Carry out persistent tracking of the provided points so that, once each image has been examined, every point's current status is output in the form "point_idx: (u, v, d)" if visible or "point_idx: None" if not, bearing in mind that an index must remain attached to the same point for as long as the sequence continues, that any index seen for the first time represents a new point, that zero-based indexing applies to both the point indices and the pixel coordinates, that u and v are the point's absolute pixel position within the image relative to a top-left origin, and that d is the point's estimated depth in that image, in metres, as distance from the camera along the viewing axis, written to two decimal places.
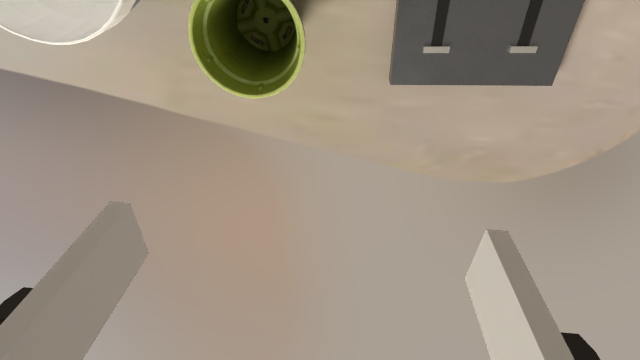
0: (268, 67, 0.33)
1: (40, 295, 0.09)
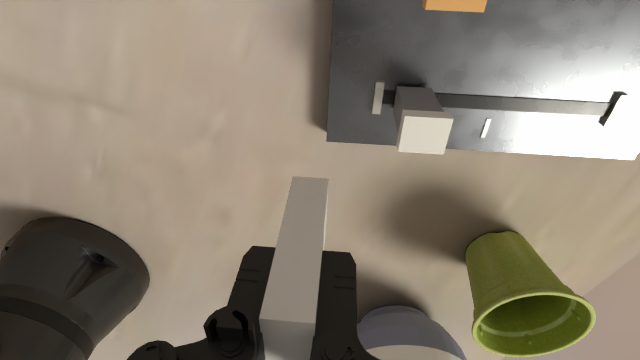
0: None
1: (287, 249, 0.11)
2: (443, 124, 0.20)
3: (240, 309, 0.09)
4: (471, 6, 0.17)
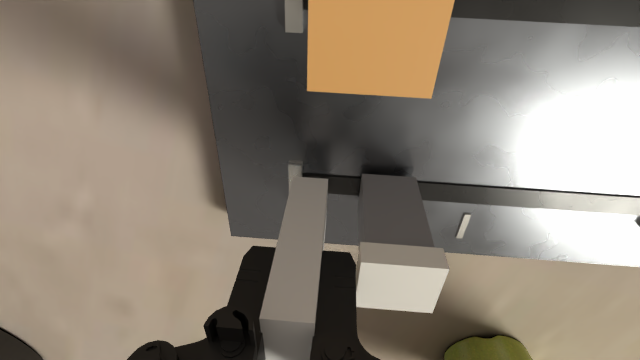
0: None
1: (287, 249, 0.11)
2: (431, 275, 0.11)
3: (240, 309, 0.09)
4: (404, 87, 0.08)
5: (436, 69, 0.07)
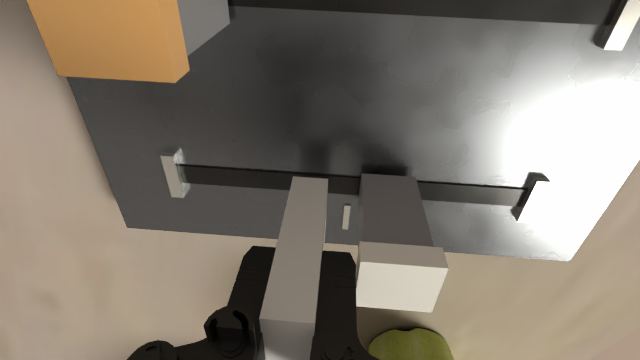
0: None
1: (287, 249, 0.11)
2: (430, 274, 0.11)
3: (240, 309, 0.09)
4: (145, 72, 0.08)
5: (167, 53, 0.08)
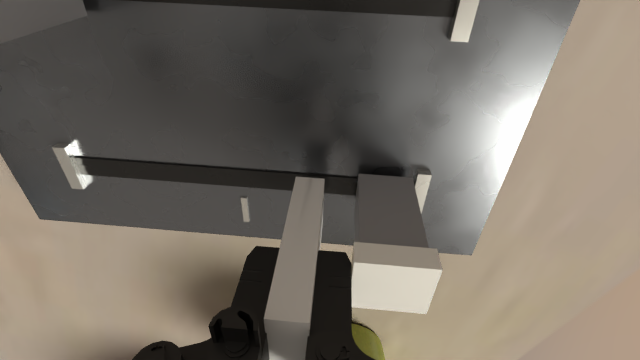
0: None
1: (291, 249, 0.11)
2: (424, 276, 0.11)
3: (245, 310, 0.09)
4: None
5: None
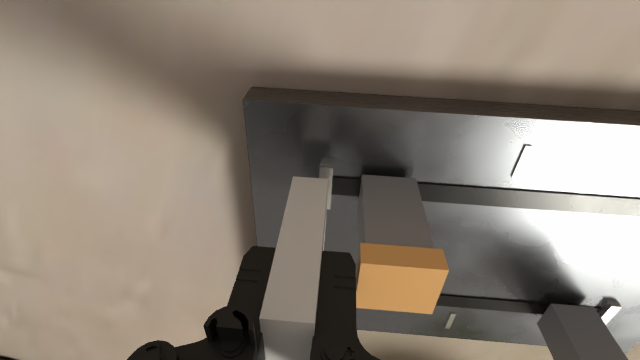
0: None
1: (287, 249, 0.11)
2: None
3: (240, 309, 0.09)
4: (415, 308, 0.12)
5: (435, 302, 0.12)
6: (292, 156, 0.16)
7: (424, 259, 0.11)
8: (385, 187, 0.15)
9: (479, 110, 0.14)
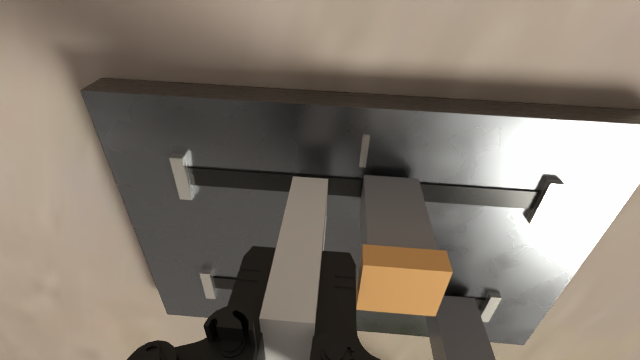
0: None
1: (287, 249, 0.11)
2: None
3: (240, 309, 0.09)
4: (418, 311, 0.12)
5: (438, 305, 0.12)
6: (144, 146, 0.16)
7: (427, 261, 0.11)
8: (387, 188, 0.15)
9: (315, 99, 0.14)
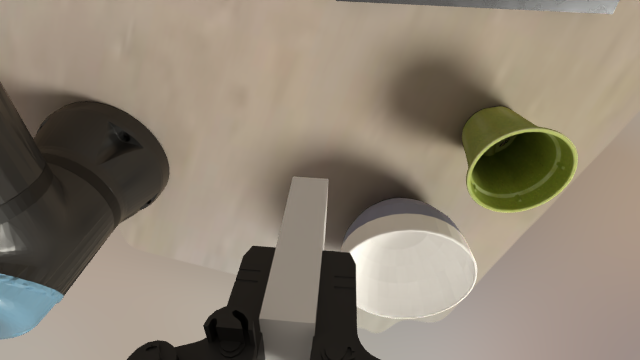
0: (539, 146, 0.35)
1: (287, 249, 0.11)
2: None
3: (240, 309, 0.09)
4: None
5: None
6: None
7: None
8: None
9: None
